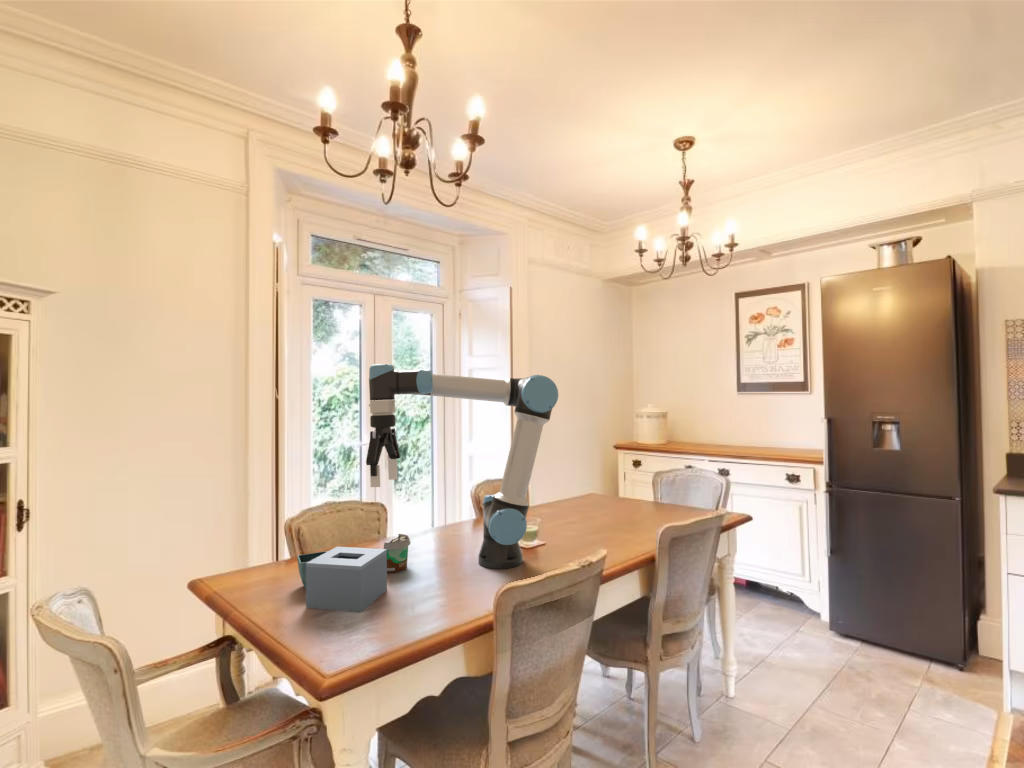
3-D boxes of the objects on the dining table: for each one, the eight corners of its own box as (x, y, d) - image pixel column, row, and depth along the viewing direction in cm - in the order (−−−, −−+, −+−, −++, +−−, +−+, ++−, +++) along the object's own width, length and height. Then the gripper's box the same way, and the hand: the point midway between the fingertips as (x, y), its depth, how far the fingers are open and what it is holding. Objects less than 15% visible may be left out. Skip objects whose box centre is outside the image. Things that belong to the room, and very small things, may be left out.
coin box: (386, 590, 155) (386, 549, 155) (360, 612, 139) (360, 566, 139) (337, 586, 158) (337, 546, 158) (306, 607, 142) (306, 562, 142)
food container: (401, 575, 167) (401, 544, 168) (383, 574, 169) (383, 543, 169) (416, 563, 180) (416, 534, 180) (399, 562, 181) (399, 533, 181)
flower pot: (299, 594, 152) (299, 562, 153) (296, 584, 160) (296, 554, 160) (331, 588, 156) (331, 558, 157) (327, 579, 164) (327, 550, 164)
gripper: (387, 413, 176) (388, 476, 176) (352, 416, 151) (354, 490, 151) (408, 412, 175) (410, 476, 174) (377, 415, 150) (379, 490, 150)
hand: (384, 483), depth 163 cm, fingers open, 13 cm apart
